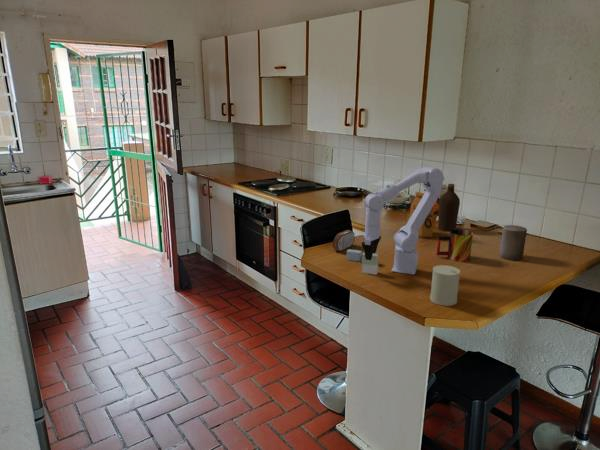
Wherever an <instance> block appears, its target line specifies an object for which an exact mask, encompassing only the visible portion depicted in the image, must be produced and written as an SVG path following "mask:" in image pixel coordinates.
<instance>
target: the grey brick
mask: <svg viewBox="0 0 600 450" xmlns="http://www.w3.org/2000/svg"><path fill="white" fill-rule="evenodd" d="M361 273H363V274H368V275H374V276H375V275H376V276H377V274H378V273H379V263H378V264H377V265H376V266H375V265H368V264H362V263H361Z"/></svg>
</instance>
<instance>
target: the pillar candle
mask: <svg viewBox="0 0 600 450" xmlns="http://www.w3.org/2000/svg"><path fill="white" fill-rule="evenodd" d="M527 232H528V229H527V228H526V227H524V226H522V225H521V226H520V225H513V224H507V225H504V226H503V227H502V233H501V234H502V235H501V241H500V249H499V257H500V258H503V259H506V260H510V261H522V260H523V259H524V252H525V247H526V246H525V245H526V238H527Z"/></svg>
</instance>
